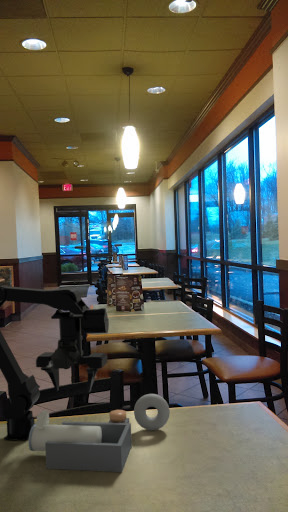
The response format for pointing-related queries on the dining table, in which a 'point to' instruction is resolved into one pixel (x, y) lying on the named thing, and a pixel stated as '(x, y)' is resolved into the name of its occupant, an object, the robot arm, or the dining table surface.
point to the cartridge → (60, 433)
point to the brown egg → (117, 416)
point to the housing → (92, 449)
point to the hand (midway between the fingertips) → (73, 391)
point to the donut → (147, 421)
